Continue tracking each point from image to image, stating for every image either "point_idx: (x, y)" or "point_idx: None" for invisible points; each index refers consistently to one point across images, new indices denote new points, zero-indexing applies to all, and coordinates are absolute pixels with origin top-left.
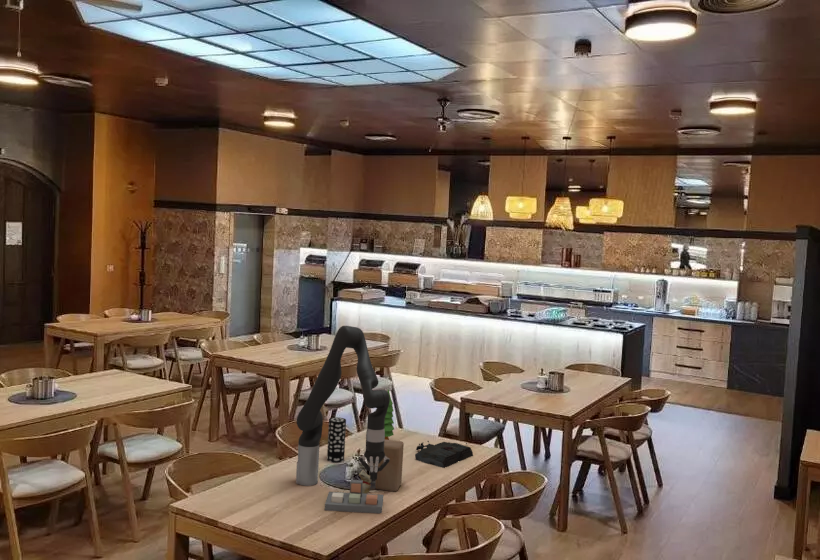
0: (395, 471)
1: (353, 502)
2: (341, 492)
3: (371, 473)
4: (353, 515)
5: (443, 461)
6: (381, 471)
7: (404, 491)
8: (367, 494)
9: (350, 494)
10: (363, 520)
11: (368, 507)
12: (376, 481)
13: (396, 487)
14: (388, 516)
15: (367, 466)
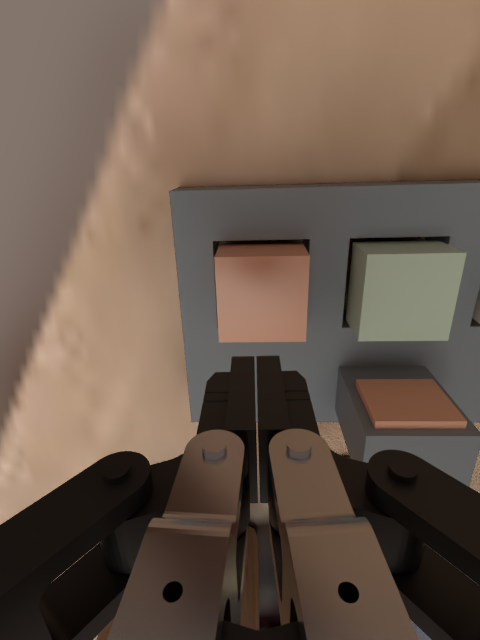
0: None
1: (405, 244)
2: (477, 418)
3: (296, 425)
4: (389, 110)
5: None
6: None
7: None
8: (300, 340)
9: (444, 320)
10: (307, 8)
11: (279, 188)
12: (252, 565)
13: None
14: (121, 141)
15: (426, 531)
